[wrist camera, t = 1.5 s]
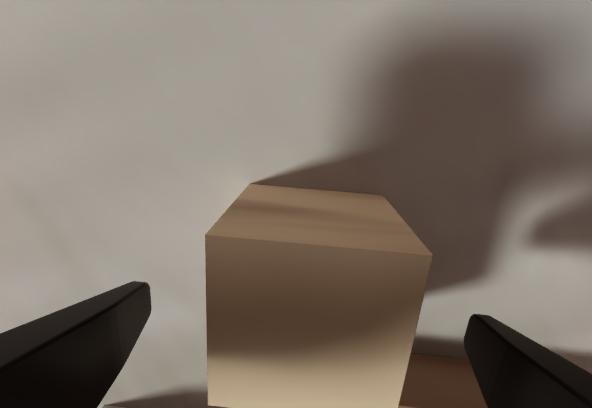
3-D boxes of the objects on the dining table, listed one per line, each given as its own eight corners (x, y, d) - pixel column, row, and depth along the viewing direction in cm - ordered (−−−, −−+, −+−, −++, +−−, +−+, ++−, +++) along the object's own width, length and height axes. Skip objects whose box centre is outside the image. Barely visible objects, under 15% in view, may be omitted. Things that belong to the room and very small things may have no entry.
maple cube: (363, 308, 13) (393, 425, 8) (246, 296, 13) (207, 405, 8) (382, 194, 11) (433, 255, 7) (249, 183, 11) (205, 234, 7)
